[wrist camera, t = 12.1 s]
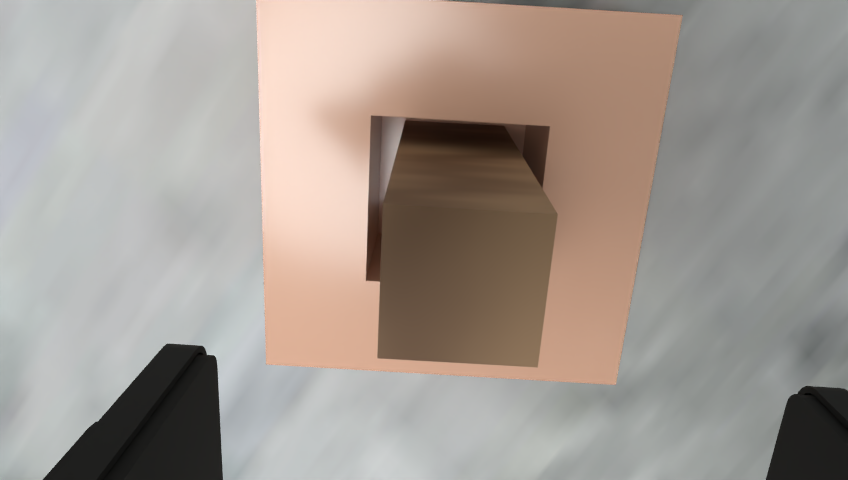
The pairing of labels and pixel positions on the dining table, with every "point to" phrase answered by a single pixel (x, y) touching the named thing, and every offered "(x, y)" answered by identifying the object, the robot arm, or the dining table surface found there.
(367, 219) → the pink planter box
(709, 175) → the dining table surface
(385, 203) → the walnut peg
